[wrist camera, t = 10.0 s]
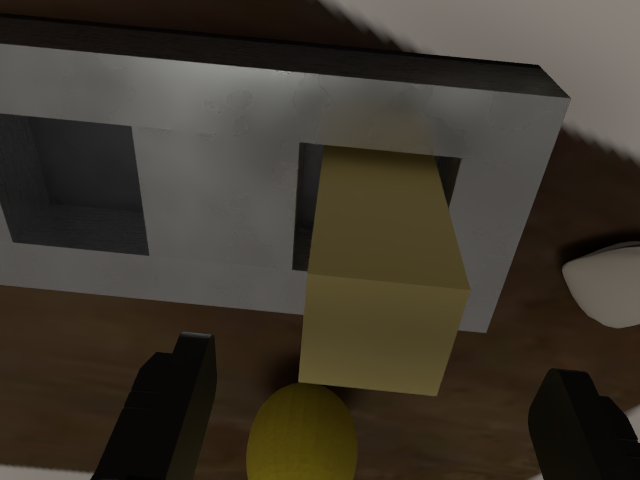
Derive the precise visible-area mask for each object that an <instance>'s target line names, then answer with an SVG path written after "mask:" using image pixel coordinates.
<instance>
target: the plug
mask: <svg viewBox="0 0 640 480" xmlns="http://www.w3.org/2000/svg"><path fill="white" fill-rule="evenodd" d="M470 291H471V290H470V286H469V282H468V279H467V275H466V271H465V268H464V264H463V260H462V257H461V253H460V249H459V246H458V242H457V238H456V235H455V231H454V227H453V224H452V220H451V216H450V213H449V209H448V205H447V202H446V198H445V194H444V191H443V187H442V183H441V180H440V176H439V172H438V169H437V165H436V161H435V158H434V155H425V154H415V153H404V152H394V151H384V150H374V149H363V148H353V147H343V146H332V145H324V150H323V158H322V165H321V173H320V181H319V188H318V196H317V203H316V211H315V219H314V226H313V234H312V242H311V249H310V257H309V264H308V272H307V283H306V295H305V307H304V319H303V331H302V343H301V355H300V367H299V379H298V382H302V383H312V384H322V385H331V386H341V387H351V388H361V389H371V390H380V391H390V392H400V393H410V394H420V395H429V396H437V393H438V390H439V387H440V384H441V381H442V378H443V375H444V372H445V369H446V365H447V362H448V359H449V356H450V353H451V350H452V347H453V344H454V341H455V338H456V334H457V331H458V328H459V325H460V322H461V319H462V316H463V313H464V310H465V307H466V303H467V300H468V297H469V294H470Z"/></svg>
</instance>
